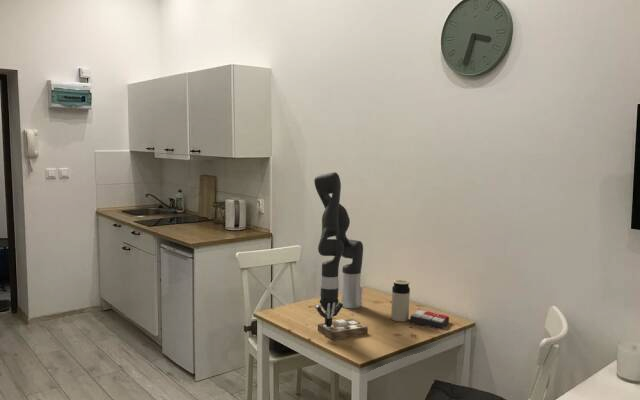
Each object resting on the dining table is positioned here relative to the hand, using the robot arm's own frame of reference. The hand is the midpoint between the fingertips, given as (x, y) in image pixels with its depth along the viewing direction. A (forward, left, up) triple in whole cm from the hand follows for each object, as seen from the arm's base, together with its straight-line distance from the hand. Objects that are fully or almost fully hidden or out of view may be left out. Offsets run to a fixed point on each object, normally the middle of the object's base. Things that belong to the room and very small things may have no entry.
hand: (328, 326), depth 226 cm
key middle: (-6, 0, -1) cm, 6 cm away
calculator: (-49, +7, -4) cm, 50 cm away
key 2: (-12, 0, -2) cm, 12 cm away
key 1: (0, 0, -2) cm, 3 cm away
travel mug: (-40, -3, -3) cm, 40 cm away
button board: (-6, +1, -3) cm, 7 cm away
